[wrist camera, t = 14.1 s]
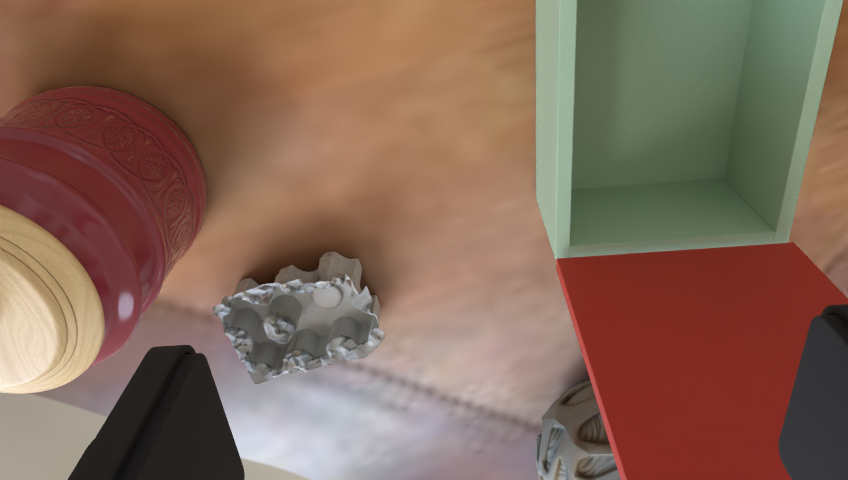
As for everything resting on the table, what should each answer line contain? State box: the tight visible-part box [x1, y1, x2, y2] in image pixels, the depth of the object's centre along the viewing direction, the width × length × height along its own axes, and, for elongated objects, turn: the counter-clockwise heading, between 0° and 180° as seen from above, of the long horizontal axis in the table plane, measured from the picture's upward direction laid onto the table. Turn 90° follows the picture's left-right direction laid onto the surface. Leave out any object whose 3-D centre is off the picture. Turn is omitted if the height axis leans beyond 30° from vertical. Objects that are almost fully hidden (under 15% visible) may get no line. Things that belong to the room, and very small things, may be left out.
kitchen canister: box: [0, 85, 207, 393], centre depth 34 cm, size 13×13×18 cm
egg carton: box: [213, 252, 384, 384], centre depth 45 cm, size 11×8×4 cm
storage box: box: [536, 0, 843, 259], centre depth 34 cm, size 16×13×8 cm
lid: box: [557, 242, 848, 480], centre depth 28 cm, size 16×13×5 cm
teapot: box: [535, 379, 621, 480], centre depth 44 cm, size 21×12×15 cm, turn 156°
